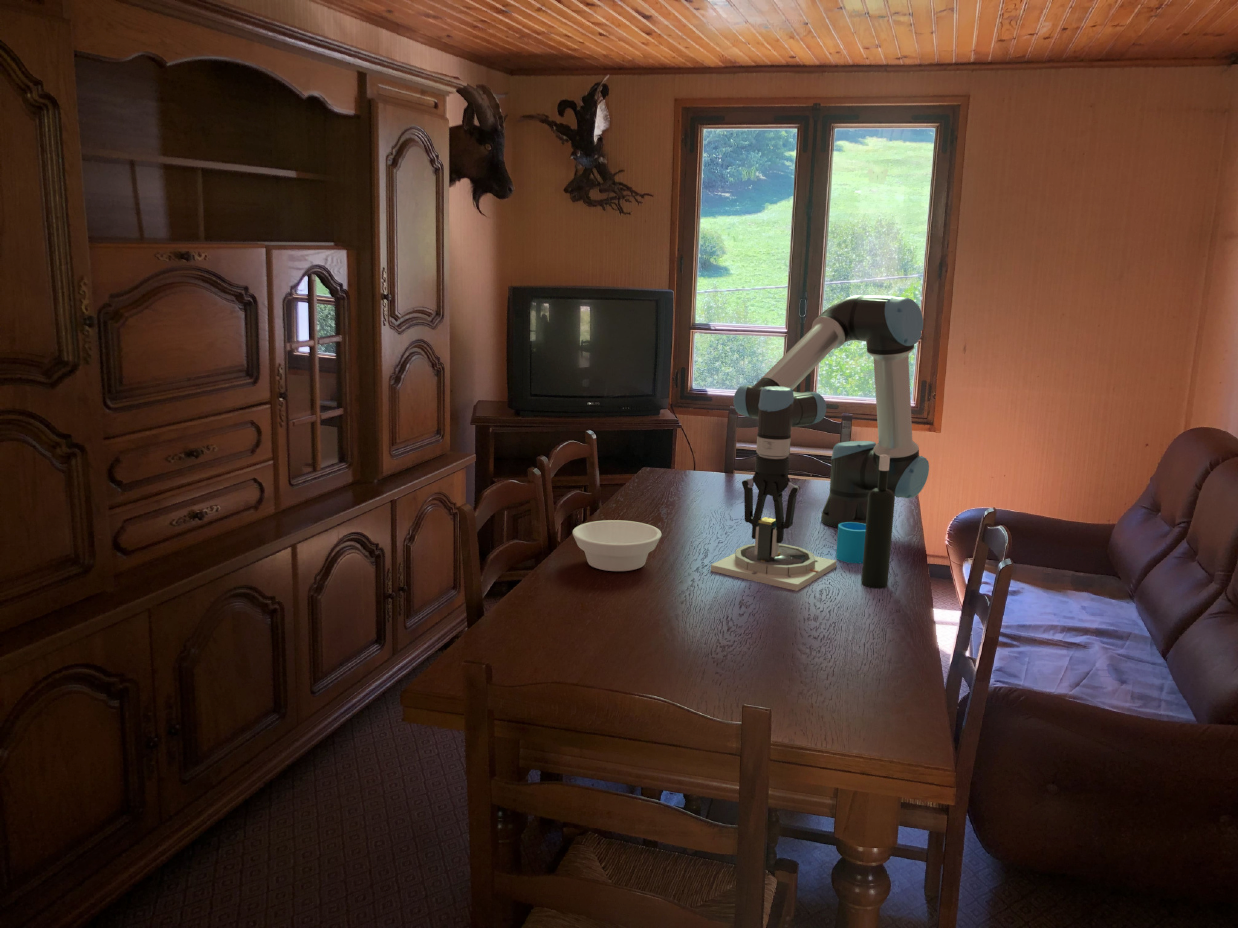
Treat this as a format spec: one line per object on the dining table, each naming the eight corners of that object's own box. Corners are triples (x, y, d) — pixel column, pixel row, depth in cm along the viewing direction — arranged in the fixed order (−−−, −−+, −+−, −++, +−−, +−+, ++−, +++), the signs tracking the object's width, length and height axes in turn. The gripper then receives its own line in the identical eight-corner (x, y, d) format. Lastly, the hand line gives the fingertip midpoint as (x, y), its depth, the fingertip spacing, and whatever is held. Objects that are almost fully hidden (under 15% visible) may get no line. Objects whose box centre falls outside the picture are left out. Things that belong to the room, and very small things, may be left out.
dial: (760, 548, 237) (763, 504, 234) (814, 559, 229) (817, 514, 227) (734, 562, 225) (736, 516, 223) (789, 574, 218) (792, 526, 215)
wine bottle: (888, 581, 220) (899, 453, 214) (886, 589, 215) (897, 458, 208) (862, 578, 222) (872, 451, 216) (860, 586, 216) (870, 456, 210)
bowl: (673, 559, 233) (675, 527, 231) (638, 584, 214) (639, 549, 213) (596, 547, 242) (596, 515, 240) (556, 570, 223) (556, 536, 221)
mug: (868, 565, 232) (870, 532, 230) (833, 561, 235) (836, 528, 233) (872, 551, 243) (875, 520, 242) (839, 547, 246) (842, 517, 244)
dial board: (754, 549, 242) (754, 536, 242) (836, 566, 230) (837, 552, 229) (710, 570, 225) (711, 556, 224) (797, 590, 212) (798, 575, 212)
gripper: (732, 453, 218) (727, 552, 223) (803, 462, 211) (795, 564, 216) (744, 448, 224) (738, 544, 229) (812, 456, 217) (805, 555, 222)
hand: (766, 553), depth 223 cm, fingers closed on dial, 3 cm apart
